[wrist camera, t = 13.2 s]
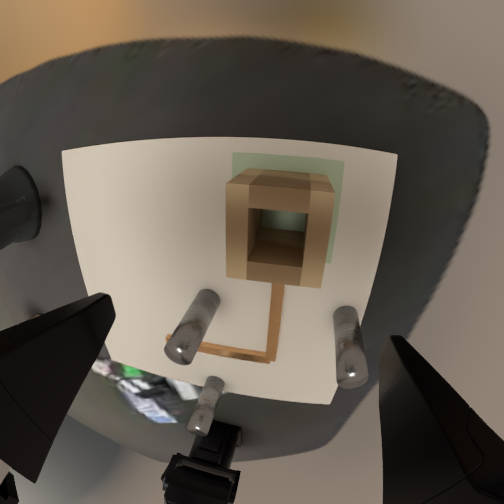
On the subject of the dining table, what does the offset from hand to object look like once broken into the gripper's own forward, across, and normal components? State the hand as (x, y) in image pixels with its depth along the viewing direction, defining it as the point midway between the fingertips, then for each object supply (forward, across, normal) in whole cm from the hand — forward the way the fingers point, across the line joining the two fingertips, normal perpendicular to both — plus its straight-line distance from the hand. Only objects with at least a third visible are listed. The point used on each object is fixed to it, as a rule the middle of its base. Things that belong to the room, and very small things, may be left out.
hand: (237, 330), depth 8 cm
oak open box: (+11, 0, 0) cm, 11 cm away
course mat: (+12, +6, +8) cm, 15 cm away
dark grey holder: (+12, +28, 0) cm, 30 cm away
